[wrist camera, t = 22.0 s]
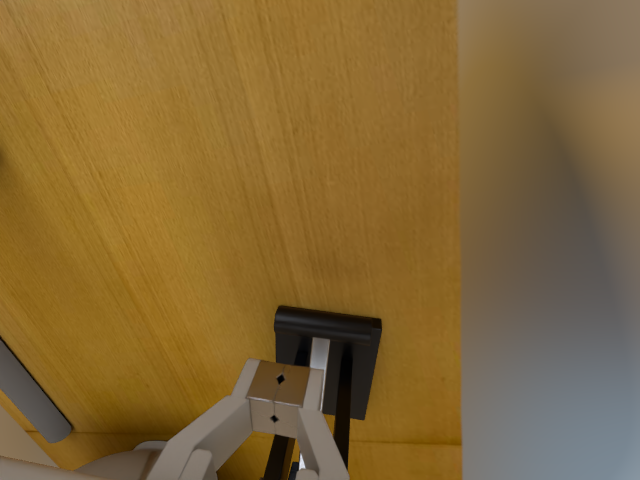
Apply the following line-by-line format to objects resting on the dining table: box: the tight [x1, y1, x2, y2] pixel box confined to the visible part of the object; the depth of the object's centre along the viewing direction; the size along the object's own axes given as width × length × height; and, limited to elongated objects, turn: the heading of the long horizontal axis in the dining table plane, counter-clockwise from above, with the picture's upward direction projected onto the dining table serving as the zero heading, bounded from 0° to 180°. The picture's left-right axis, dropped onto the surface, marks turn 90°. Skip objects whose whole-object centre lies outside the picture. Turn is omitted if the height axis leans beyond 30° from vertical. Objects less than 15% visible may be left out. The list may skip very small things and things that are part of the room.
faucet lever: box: [274, 306, 372, 480], centre depth 19 cm, size 13×6×2 cm, turn 177°
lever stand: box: [259, 306, 382, 480], centre depth 23 cm, size 12×9×13 cm
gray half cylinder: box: [0, 340, 71, 443], centre depth 36 cm, size 4×20×2 cm, turn 10°
